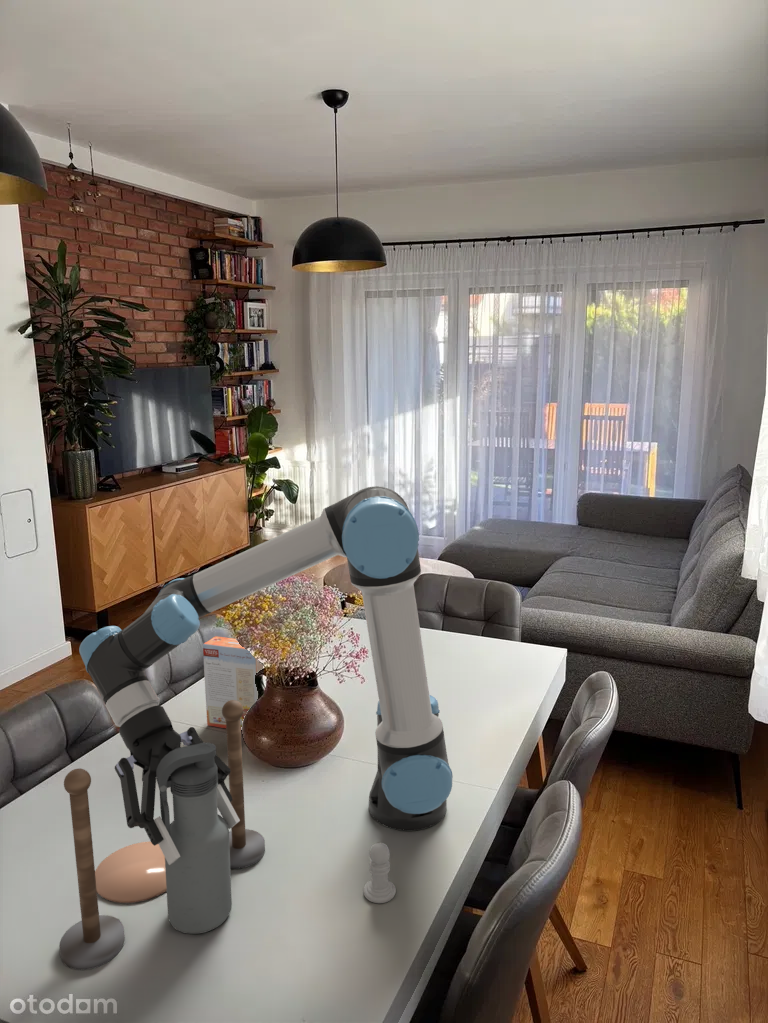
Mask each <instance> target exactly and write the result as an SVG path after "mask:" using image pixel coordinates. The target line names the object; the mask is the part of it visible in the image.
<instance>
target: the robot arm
mask: <svg viewBox="0 0 768 1023" xmlns="http://www.w3.org/2000/svg"><path fill="white" fill-rule="evenodd" d="M418 528H419V527H418V525H417V521H416V520H415V518H414V515H413V514H412V513H411V511H410V509H409V507H408V504H407V503H406V501H405V499H404V498H403V497H402V496H401V495H400V494H399V493H397V492H396V491H395V490H393V489H391V488H388V487H384V486H379V485H378V486H377V485H376V486H375V485H374V486H368V487H365V488H362V489H360V490H357V491H356V492H354V493H352V494H350V495H349V496H347V497H345V498H342V499H341V500H339V501H337V502H335V503H334V504H331V505H328V506H327V507H324V508H323V509H322V512H321V514H320V516H319V517H316V518H314V519H311V520H310V521H308V522H306V523H303V524H301V525H298V526H296V527H295V528H292V529H290V530H288V531H286V532H283V533H281V534H279V535H277V536H275V537H273V538H271V539H268V540H266V541H264V542H262V543H259V544H257V545H255V546H253V547H251V548H249V549H247V550H245V551H242V552H240V553H238V554H235V555H234V556H231V557H229V558H227V559H224V560H223V561H221V562H218V563H216V564H214V565H212V566H209V567H208V568H205V569H203V570H200V571H198V572H197V573H194V574H192V575H191V576H187V577H181V578H180V577H179V578H176V579H173V580H171V581H169V582H168V583H166V584H165V585H163V587H162V588H161V589H160V590H159V592H158V594H157V596H156V597H155V599H154V600H153V601H152V603H151V604H150V605H149V606H148V607H147V609H146V610H145V611H144V613H143V614H141V615H140V616H139V617H138V618H137V619H135V620H134V621H132V622H131V623H130V624H129V625H127V626H126V627H124V628H123V629H121V628H120V627H119V626H116V625H108V626H103V627H102V628H99V629H98V630H97V631H95V632H92V633H90V634H89V635H87V636H86V637H85V638H84V639H83V640H82V642H81V643H80V645H79V649H78V650H79V654H80V655H79V656H80V657H81V659H82V662H83V664H84V666H85V670H86V673H88V674H89V676H90V678H91V680H92V681H93V684H94V685H95V688H96V690H97V691H98V693H99V694H100V696H101V698H102V701H103V703H104V705H105V707H106V709H107V711H108V713H109V715H110V718H111V719H112V721H113V723H114V724H115V726H116V727H119V730H118V733H119V735H120V737H121V738H122V741H123V742H124V744H125V747H126V748H127V749H128V751H129V754H130V756H127V757H121V758H120V759H119V761H118V762H117V763H116V764H115V765H114V771H115V772H116V775H117V776H118V778H119V779H120V785H121V793H122V798H123V805H124V813H125V818H126V825H127V827H128V828H129V829H134V828H135V827H139V829H144V830H145V833H146V835H147V837H148V839H149V841H151V843H152V844H153V845H154V846H155V845H157V844H159V846H160V848H161V850H162V852H163V854H164V856H165V858H166V860H167V862H168V864H169V865H170V864H172V863H174V862H175V861H176V860H177V859H178V858H179V857H180V854H179V852H178V851H177V849H176V847H175V845H174V843H173V841H172V839H171V837H170V835H169V833H168V831H167V829H166V827H165V825H164V823H163V821H162V819H161V815H160V816H157V817H155V804H156V803H155V802H156V789H157V788H156V786H157V779H156V770H157V767H158V765H159V763H160V761H161V760H162V759H163V757H164V756H165V755H167V754H168V753H169V752H171V751H173V750H175V749H177V748H180V747H181V744H182V745H183V746H184V747H185V746H190V745H195V744H199V743H205V742H204V741H203V740H202V739H201V738H200V736H199V734H198V731H197V730H196V727H193V726H192V727H191V726H190V727H188V729H187V730H186V731H184V732H181V733H178V732H177V731H176V730H175V729H174V728H173V724H172V721H171V719H170V717H169V715H168V713H167V711H166V710H165V708H164V706H163V705H160V703H161V700H160V698H159V696H158V695H157V693H156V691H155V690H154V688H153V686H152V684H151V682H150V680H149V679H148V677H147V674H146V672H145V670H147V669H149V668H150V667H151V666H153V665H154V664H155V663H156V662H158V661H159V660H161V659H162V658H163V657H165V656H166V655H168V654H169V653H170V652H171V651H173V650H174V649H176V648H178V646H180V645H181V644H185V643H186V642H187V641H188V639H189V638H190V637H191V636H193V635H194V634H195V633H196V632H197V631H198V630H199V628H200V625H201V621H200V618H203V617H205V616H206V615H209V614H211V613H213V612H215V611H218V610H219V609H222V608H224V607H226V606H228V605H230V604H233V603H235V602H237V601H240V600H241V599H244V598H246V597H248V596H251V595H252V594H255V593H256V592H259V591H261V590H264V589H266V588H268V587H271V586H273V585H275V584H277V583H279V582H281V581H284V580H285V579H288V578H291V577H293V576H294V575H297V574H299V573H301V572H303V571H305V570H307V569H310V568H312V567H314V566H315V567H316V566H317V565H319V564H321V563H323V562H326V561H327V560H330V559H332V558H334V557H337V556H340V557H343V558H346V560H347V561H346V562H347V567H348V568H347V569H348V572H349V579H350V583H351V585H352V586H354V587H355V588H356V589H358V590H359V591H361V595H362V603H363V609H364V614H365V619H366V627H367V633H368V639H369V646H370V651H371V658H372V664H373V665H372V666H373V671H374V676H375V683H376V689H377V690H376V691H377V696H378V702H377V708H376V709H377V710H376V712H375V715H377V716H376V717H377V724H376V726H377V727H376V729H375V740H376V745H377V746H376V747H377V771H376V774H375V777H374V779H373V783H372V785H371V789H370V791H369V795H368V811H369V814H370V816H371V817H372V818H373V820H375V821H376V822H377V823H379V824H380V825H382V826H384V827H386V828H390V829H393V830H398V831H405V832H406V831H409V832H410V831H411V832H412V831H420V830H424V829H427V828H431V827H432V826H435V825H436V824H439V822H440V821H442V820H443V818H444V817H445V815H446V813H447V808H448V807H447V805H448V804H447V803H448V802H447V799H448V798H449V796H450V794H451V792H452V790H453V777H454V775H453V771H452V769H451V767H450V765H449V763H450V762H449V758H448V752H447V745H446V739H445V733H444V725H443V721H442V719H441V718H439V714H440V709H439V707H440V706H439V702H438V699H437V698H436V697H434V696H433V695H431V694H430V689H429V682H428V677H427V669H426V663H425V654H424V648H423V641H422V634H421V627H420V620H419V614H418V613H419V612H418V605H417V600H416V592H415V586H414V585H415V582H417V580H418V579H419V577H420V575H421V574H422V570H421V569H422V568H421V563H420V555H419V540H420V534H419V529H418ZM214 762H215V763H216V765H217V769H218V787H217V811H219V812H220V816H221V817H222V818H224V820H225V821H226V823H227V825H228V829H229V830H230V829H231V828H232V827H233V826H234V825H236V824H237V823H238V822H239V821H240V819H239V818H238V816H237V814H236V812H235V810H234V808H233V807H232V805H231V803H230V802H231V801H232V796H231V794H230V791H229V788H228V787H227V785H226V783H225V780H226V779H227V777H229V774H230V772H231V770H230V768H229V767H228V765H227V764H226V763H225V762H224V761H223V760H222V759H221V758H220V757H219V756H218V755H217V754H216V755H215V757H214ZM134 765H135V766H138V767H140V768H141V769H142V775H141V781H142V791H141V802H140V803H139V796H138V790H137V784H136V778H135V774H134V768H135V766H134ZM140 804H141V805H140ZM154 817H155V818H154Z"/></svg>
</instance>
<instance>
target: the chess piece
mask: <svg viewBox="0 0 768 1023" xmlns="http://www.w3.org/2000/svg"><path fill="white" fill-rule="evenodd" d="M390 854H391V853H390V848H389V847H388V845H387V844H386V843H384V842H376V843H374V844H372V845H371V847H370V850H369V859H370V861H369V863H368V864H369V868H368V869H369V872H370V873H371V879H370V880H368V881H367V882H366V883H365V884H364V886H363V888H362V891H363V892H362V893H363V895H364V897H365V898H366V900H368V901H370V902H372V903H374V904H384V903H388V902H390V901H391V900H393V899H394V897H395V896H396V892H397V889H396V886H395V884H394V883H393V882H392V881H391V880H389V876H388V875H389V872H390V870H391V867H390V865H391V862H390V856H391V855H390Z"/></svg>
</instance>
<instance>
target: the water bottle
mask: <svg viewBox="0 0 768 1023" xmlns="http://www.w3.org/2000/svg"><path fill="white" fill-rule="evenodd" d="M215 755H217V746H216V745H215V744H214V743H212V742H204V743H199V744H195V745H190V746H187V745H186V746H185V745H184V746H180V748H177V749H175V750H173V751H171V752H169V753H168V754H167V755H165V756H164V757H163V759H162V760H161V761H160V763H159V765H158V767H157V770H156V784H157V786H158V790H159V803H160V804H159V805H160V817H161V819H162V821H163V823H164V825H165V827H166V829H167V831H168V833H169V835H170V837H171V839H172V841H173V843H174V845H175V847H176V849H177V851H178V852H179V854H180V857H179V858H178V859H177V860H176V861H175V862H174V863H172V864H170V865H169V864H168V862H167V860H166V858H165V870H166V888H167V891H166V902H167V918H168V921H169V923H170V924H171V926H172V927H173V928H174V929H176V931H179V932H181V933H184V934H190V935H195V934H197V935H198V934H203V933H207V932H209V931H213V930H214V929H216V928H218V927H219V926H221V925H222V924H223V923H224V922H226V920H227V919H228V917H229V916H230V913H231V911H232V904H233V903H232V902H233V901H232V881H231V880H232V878H231V876H232V874H231V873H232V872H231V869H230V846H229V832H230V829H229V828H228V825H227V823H226V821H225V820H224V818H223V817H222V815H221V814H218V808H217V787H218V769H217V765H216V763H215V762H214V757H215ZM167 789H170V792H171V794H172V810H173V821H170V820H171V818H170V808H169V803H168V793H167Z"/></svg>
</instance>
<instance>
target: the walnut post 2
mask: <svg viewBox="0 0 768 1023" xmlns="http://www.w3.org/2000/svg"><path fill="white" fill-rule="evenodd" d="M222 715H223V717H224V718H225V719H226V728H225V729H226V730H225V731H226V747H227V748H226V749H227V750H226V751H227V764H228V765H227V766H228V767H229V768H230V770H231V772H230V774H229V775H228V787H229V788H228V790H229V792H230V794H231V796H232V801H231V802H230V803H231V805H232V807H233V808H234V810H235V812H236V814H237V816H238V818H239V819H240V821H239V822H238V823H237V824H236V825H234V826H233V827H232V828H230V829H231V830H229V846H230V870H238V869H245V868H248V867H251V866H253V865H255V864H256V863H258V862H259V861H260V860H261V859H262V858H263V856H264V855H265V852H266V844H265V843H266V842H265V837H264V836H263V835H262V834H261V833H260V832H259V831H256V830H254V829H249V828H246V815H245V792H244V773H243V751H242V750H243V749H242V731H241V723H240V718H241V717H242V715H243V706H242V704H241V703H240V702H239V701H237V700H230V701H228V702H226V703H225V704H224V706H223V708H222Z"/></svg>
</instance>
